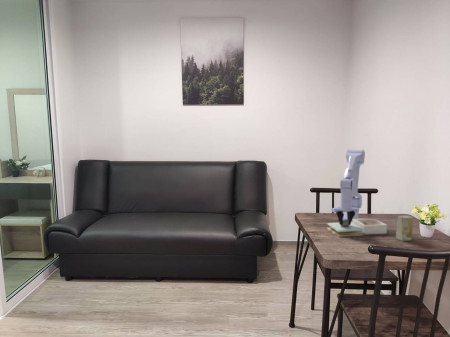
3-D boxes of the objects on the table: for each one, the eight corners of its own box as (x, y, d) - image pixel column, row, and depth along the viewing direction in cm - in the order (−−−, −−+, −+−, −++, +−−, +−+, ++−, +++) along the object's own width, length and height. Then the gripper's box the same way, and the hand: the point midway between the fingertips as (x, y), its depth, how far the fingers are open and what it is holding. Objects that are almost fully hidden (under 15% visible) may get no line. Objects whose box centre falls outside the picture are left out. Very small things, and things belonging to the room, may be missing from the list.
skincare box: (401, 241, 177) (403, 217, 175) (395, 238, 181) (397, 215, 180) (412, 240, 179) (413, 217, 177) (405, 237, 183) (407, 214, 181)
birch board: (326, 228, 198) (326, 227, 198) (349, 227, 200) (349, 226, 200) (338, 236, 183) (338, 235, 183) (363, 235, 185) (363, 234, 185)
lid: (327, 225, 197) (327, 217, 197) (350, 224, 199) (351, 215, 198) (338, 233, 183) (338, 224, 183) (363, 231, 185) (363, 222, 184)
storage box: (352, 227, 200) (352, 219, 199) (373, 226, 202) (373, 218, 201) (364, 234, 187) (364, 225, 186) (386, 233, 189) (387, 224, 188)
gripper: (336, 202, 184) (335, 227, 186) (362, 201, 186) (360, 226, 188) (331, 199, 191) (329, 223, 193) (355, 198, 193) (354, 222, 195)
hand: (344, 224), depth 191 cm, fingers closed on lid, 4 cm apart
